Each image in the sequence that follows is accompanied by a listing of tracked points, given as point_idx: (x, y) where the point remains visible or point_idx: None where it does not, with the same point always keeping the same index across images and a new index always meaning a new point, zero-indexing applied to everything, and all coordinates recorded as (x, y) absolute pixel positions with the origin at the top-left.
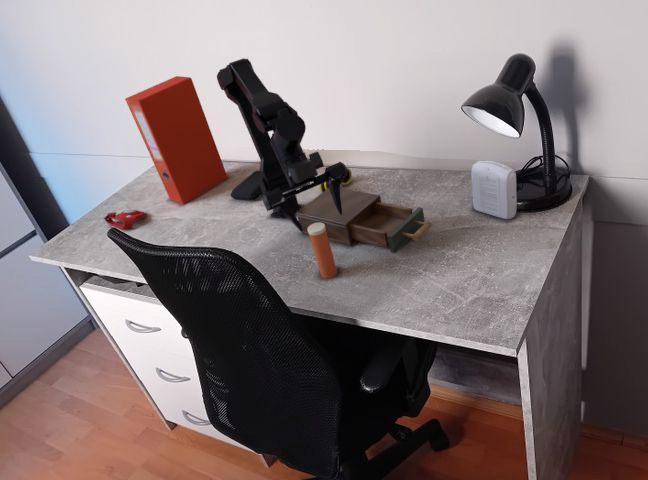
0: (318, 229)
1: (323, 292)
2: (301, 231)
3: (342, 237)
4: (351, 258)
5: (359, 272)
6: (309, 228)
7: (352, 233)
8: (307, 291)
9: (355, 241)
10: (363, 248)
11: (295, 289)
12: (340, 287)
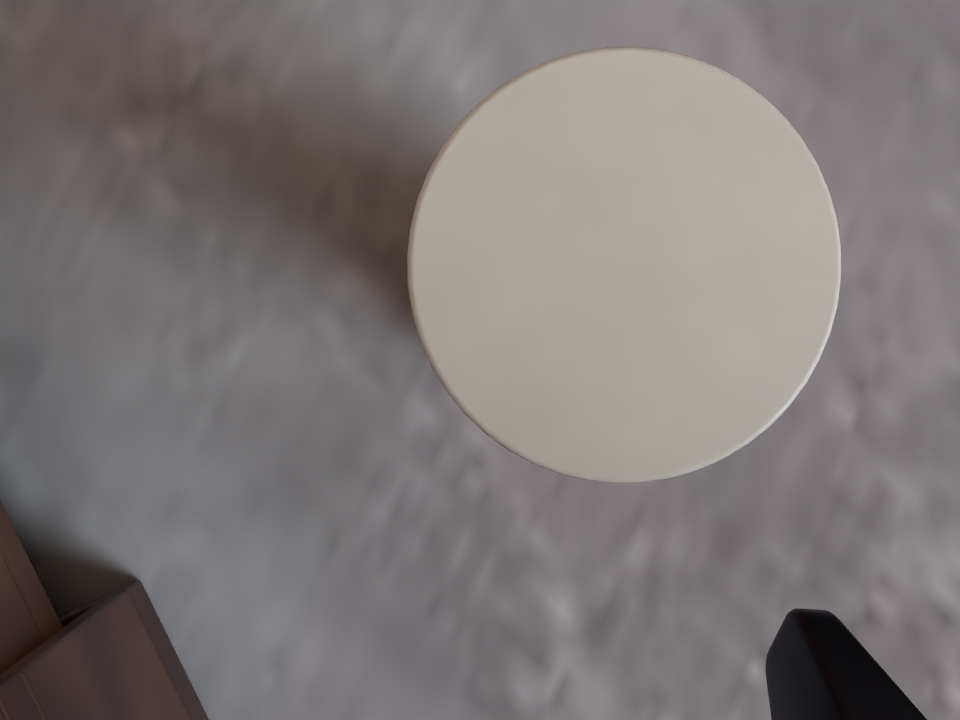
0: (625, 119)
1: (709, 56)
2: (823, 617)
3: (147, 698)
4: (234, 379)
5: (282, 99)
6: (773, 337)
7: (17, 641)
8: (828, 184)
9: (59, 617)
10: (52, 453)
11: (909, 300)
12: (542, 10)
